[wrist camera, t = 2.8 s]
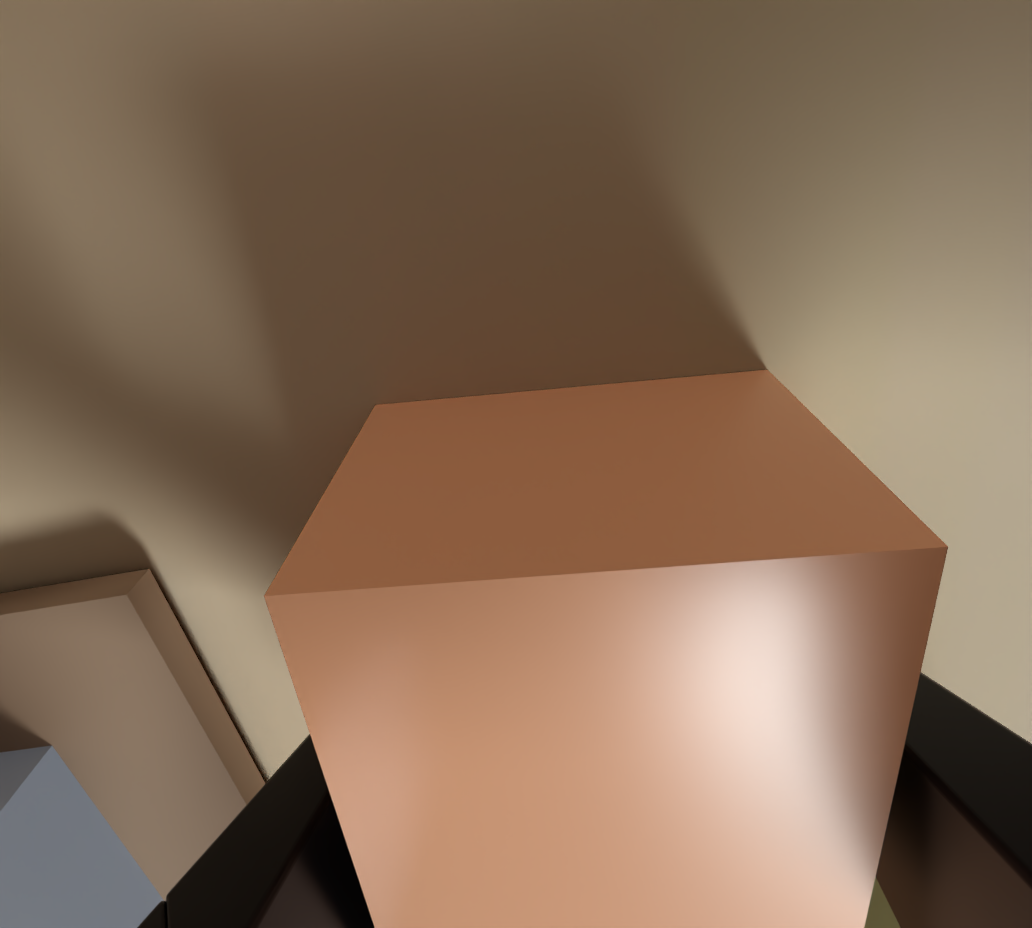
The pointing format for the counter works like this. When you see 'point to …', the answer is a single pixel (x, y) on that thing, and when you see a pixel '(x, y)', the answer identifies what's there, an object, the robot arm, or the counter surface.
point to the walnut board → (124, 715)
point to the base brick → (62, 852)
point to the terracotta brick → (609, 657)
